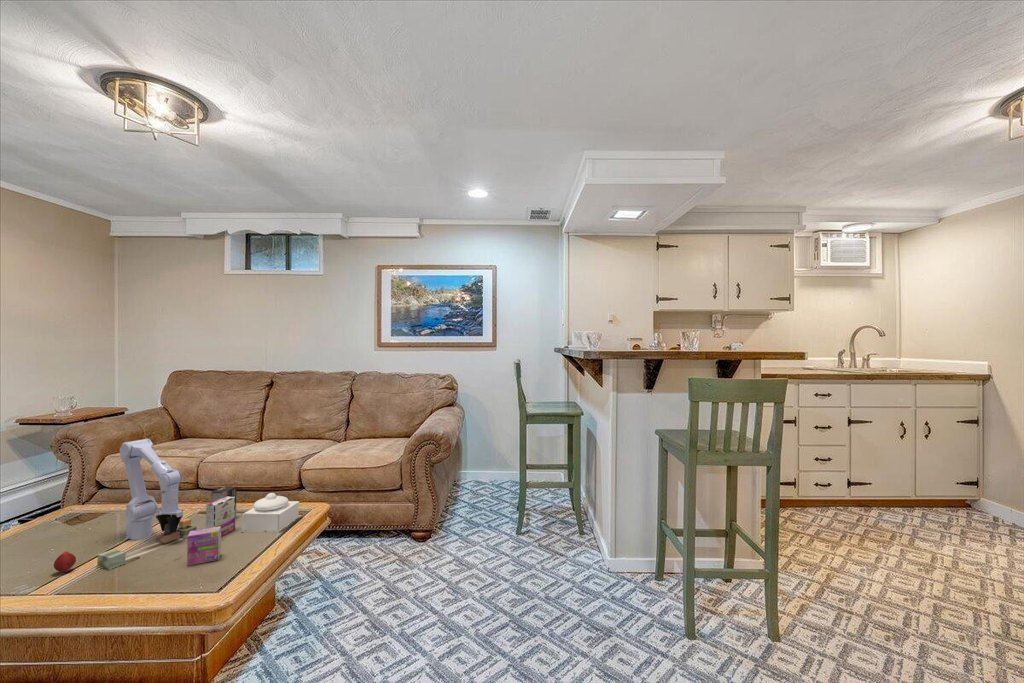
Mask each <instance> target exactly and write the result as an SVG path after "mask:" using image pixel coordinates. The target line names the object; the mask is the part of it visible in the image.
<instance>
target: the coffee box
mask: <svg viewBox="0 0 1024 683" xmlns="http://www.w3.org/2000/svg"><path fill="white" fill-rule="evenodd" d="M227 496H229V497H235V519H237V486H232V485H225V486H223V487H220V488H218V489H215V490H212V491H211V503H212V502H214V501H217V500H219V499H222V498H224V497H227Z"/></svg>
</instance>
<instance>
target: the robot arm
mask: <svg viewBox="0 0 1024 683" xmlns="http://www.w3.org/2000/svg"><path fill="white" fill-rule="evenodd" d="M119 454H120V458H121V459H120V460H121V462H123V464H124V468H125V471H126V472H125V473H126V476H127V480H128V485H129V490H130V494H131V495H130V496H131V500H130V501H129V502H128V503H127V504H126V506H125V508H126V510H125V518H126V519H127V520H128V521H127V523H126V526H125V527H126V530H125V531H126V534H125V538H124V539H123V541H125V540H126V541H127V540H129V539H130V540H131V541H138V540H139V541H140V540H143V539H148V538H150V537H152V536H153V517H155V518H156V519H157V521H158V523H159V526H160V529H161V532H164V527H165V524H169V530H170V533H173V532H176V530H177V527H179V522H180V520H182V518H183V516H184V511H183V510H181V509H179V484H180V483H181V482H182V481H183V475H182V472H181V471H180V470H179V469H178V470H176V468H175V469H173V468H172V466H171V465H169V464H168V462H167V461H166V460H163V459H160V457H159V456H158V454H157V453H156V452H155V450H154V443H153V442H152V440H151V439H150V438H143V439H137V440H133V441H132V440H130V441H124V442H123V443H122V444H121V446H120V448H119ZM143 459H144V460H145V461H146V462H148V463H149V465H151V468H150V471H152V473H153V474H154V475H155V476H156V477H157V478H158V484H159V487H160V489H159V490H160V492H161V507H159V505H158V502H156V500H155V499H156V498H155V497H154V496H152V495H149V494H148V492H147V488H146V483H145V479H144V474H143V468H142V464H141V460H143ZM155 514H157V515H155Z"/></svg>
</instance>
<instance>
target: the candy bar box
mask: <svg viewBox="0 0 1024 683" xmlns="http://www.w3.org/2000/svg"><path fill="white" fill-rule="evenodd" d="M205 510H206V512H205V515H206V516H205V529H207V528H213V527H219V526H221V538H222V537H224V536H226V535H228V534H231V533H232V532H234V531H236V518H235V497H229V496H227V497H224V498H222V499H219V500H217V501H214V502H212V501H211V502H210V503H207V504H206V505H205Z"/></svg>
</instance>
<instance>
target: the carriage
mask: <svg viewBox="0 0 1024 683" xmlns="http://www.w3.org/2000/svg"><path fill="white" fill-rule="evenodd" d="M177 538H180V532H177V531H176V532H173V533H170V530H169V524H165V527H164V531H163V532H162V533H158V534H155V542H162V543H166V542H169V541H172V540H174V539H177Z"/></svg>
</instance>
